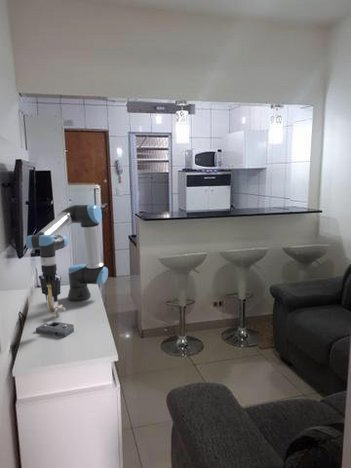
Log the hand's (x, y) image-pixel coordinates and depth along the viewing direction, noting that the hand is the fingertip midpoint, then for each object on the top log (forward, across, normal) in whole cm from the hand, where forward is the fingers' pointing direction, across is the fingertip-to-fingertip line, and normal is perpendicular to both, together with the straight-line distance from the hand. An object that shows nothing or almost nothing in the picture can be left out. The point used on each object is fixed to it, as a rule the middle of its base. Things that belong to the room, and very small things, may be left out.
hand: (52, 306), depth 191 cm
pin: (+3, 0, 0) cm, 3 cm away
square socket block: (+14, 0, 0) cm, 14 cm away
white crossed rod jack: (+14, -13, +17) cm, 26 cm away
